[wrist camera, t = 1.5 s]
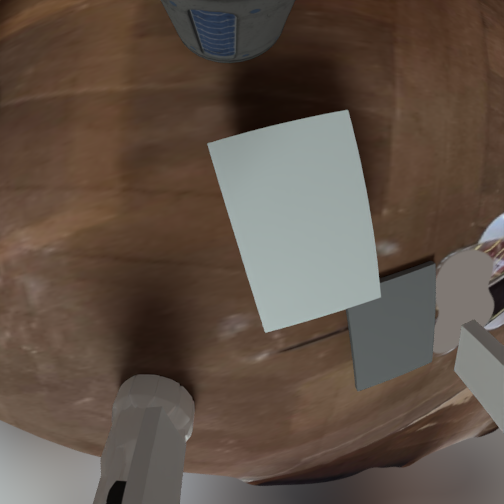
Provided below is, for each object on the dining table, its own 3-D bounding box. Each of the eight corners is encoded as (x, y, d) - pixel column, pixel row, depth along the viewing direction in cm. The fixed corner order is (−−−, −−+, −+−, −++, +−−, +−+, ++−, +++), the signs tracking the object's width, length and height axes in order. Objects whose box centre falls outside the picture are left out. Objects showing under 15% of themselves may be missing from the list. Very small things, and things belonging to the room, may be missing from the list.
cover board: (211, 144, 24) (207, 143, 20) (331, 114, 23) (348, 109, 19) (261, 308, 28) (265, 332, 25) (363, 278, 28) (381, 297, 24)
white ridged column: (188, 374, 37) (165, 564, 13) (200, 426, 40) (191, 582, 17) (110, 372, 36) (47, 534, 13) (130, 423, 40) (95, 564, 16)
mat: (343, 290, 34) (345, 294, 33) (431, 260, 34) (435, 263, 33) (355, 386, 39) (357, 391, 38) (428, 357, 39) (431, 361, 38)
